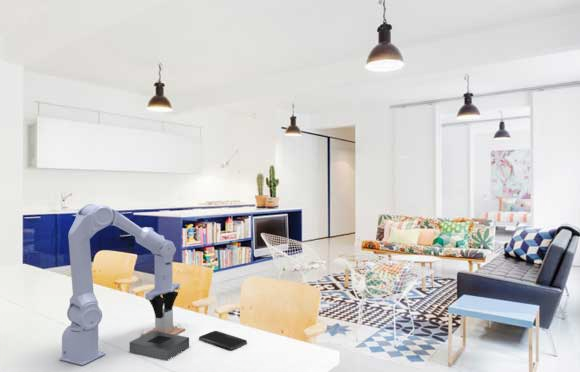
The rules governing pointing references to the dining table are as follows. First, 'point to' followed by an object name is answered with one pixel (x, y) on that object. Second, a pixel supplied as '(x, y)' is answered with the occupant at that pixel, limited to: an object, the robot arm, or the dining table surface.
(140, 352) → the socket plate
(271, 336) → the dining table surface
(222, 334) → the phone
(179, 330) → the mat
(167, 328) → the steel peg
